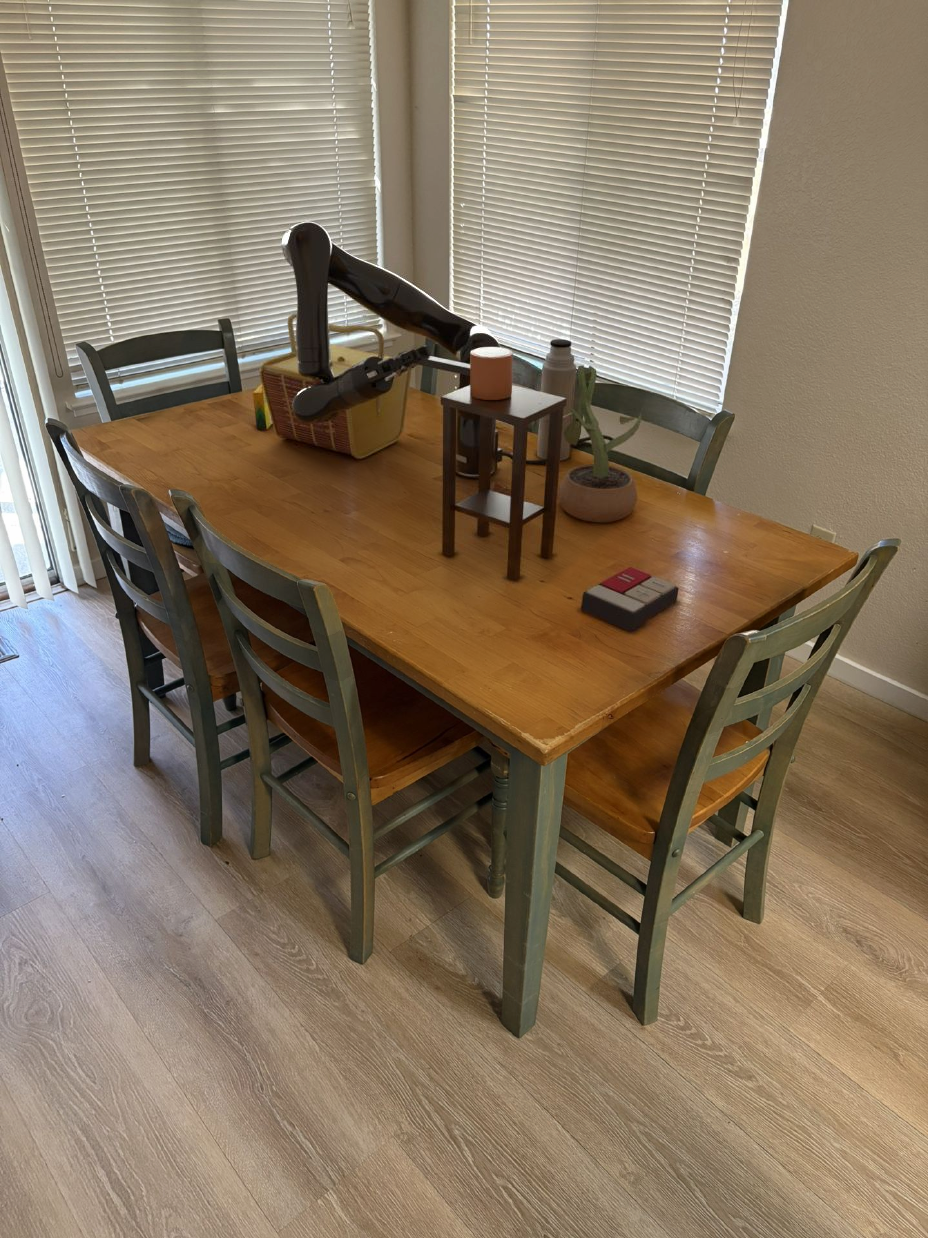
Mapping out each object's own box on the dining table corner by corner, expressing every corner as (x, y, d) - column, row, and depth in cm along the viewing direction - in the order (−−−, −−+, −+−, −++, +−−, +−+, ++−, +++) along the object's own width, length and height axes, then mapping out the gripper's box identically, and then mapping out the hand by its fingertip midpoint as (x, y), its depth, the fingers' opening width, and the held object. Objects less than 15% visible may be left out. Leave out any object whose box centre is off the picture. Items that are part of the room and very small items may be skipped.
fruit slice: (481, 504, 205) (481, 483, 203) (505, 497, 209) (506, 476, 206) (503, 517, 200) (504, 496, 197) (528, 510, 203) (529, 489, 200)
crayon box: (265, 419, 249) (260, 376, 243) (275, 420, 249) (271, 377, 243) (255, 429, 243) (251, 384, 237) (266, 429, 243) (262, 385, 237)
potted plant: (653, 508, 205) (671, 372, 189) (604, 533, 194) (619, 391, 178) (572, 478, 218) (583, 350, 203) (522, 500, 207) (529, 366, 191)
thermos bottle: (570, 450, 234) (580, 337, 219) (567, 462, 227) (576, 346, 212) (539, 447, 235) (546, 335, 220) (534, 459, 228) (541, 344, 214)
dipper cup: (389, 378, 178) (388, 338, 174) (415, 369, 183) (414, 330, 179) (495, 402, 165) (496, 360, 161) (520, 392, 170) (521, 350, 166)
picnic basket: (416, 437, 240) (415, 318, 224) (354, 469, 221) (348, 341, 205) (328, 415, 253) (321, 301, 237) (262, 443, 234) (250, 321, 219)
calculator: (680, 583, 168) (634, 610, 159) (676, 604, 171) (631, 632, 161) (629, 563, 175) (582, 588, 165) (626, 584, 177) (579, 609, 167)
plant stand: (439, 554, 185) (440, 396, 168) (481, 530, 194) (486, 378, 177) (514, 582, 175) (523, 418, 159) (554, 555, 185) (566, 398, 168)
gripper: (333, 371, 182) (390, 340, 170) (380, 355, 191) (438, 325, 179) (348, 407, 183) (406, 379, 171) (395, 390, 193) (453, 363, 181)
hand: (422, 352), depth 175 cm, fingers closed on dipper cup
